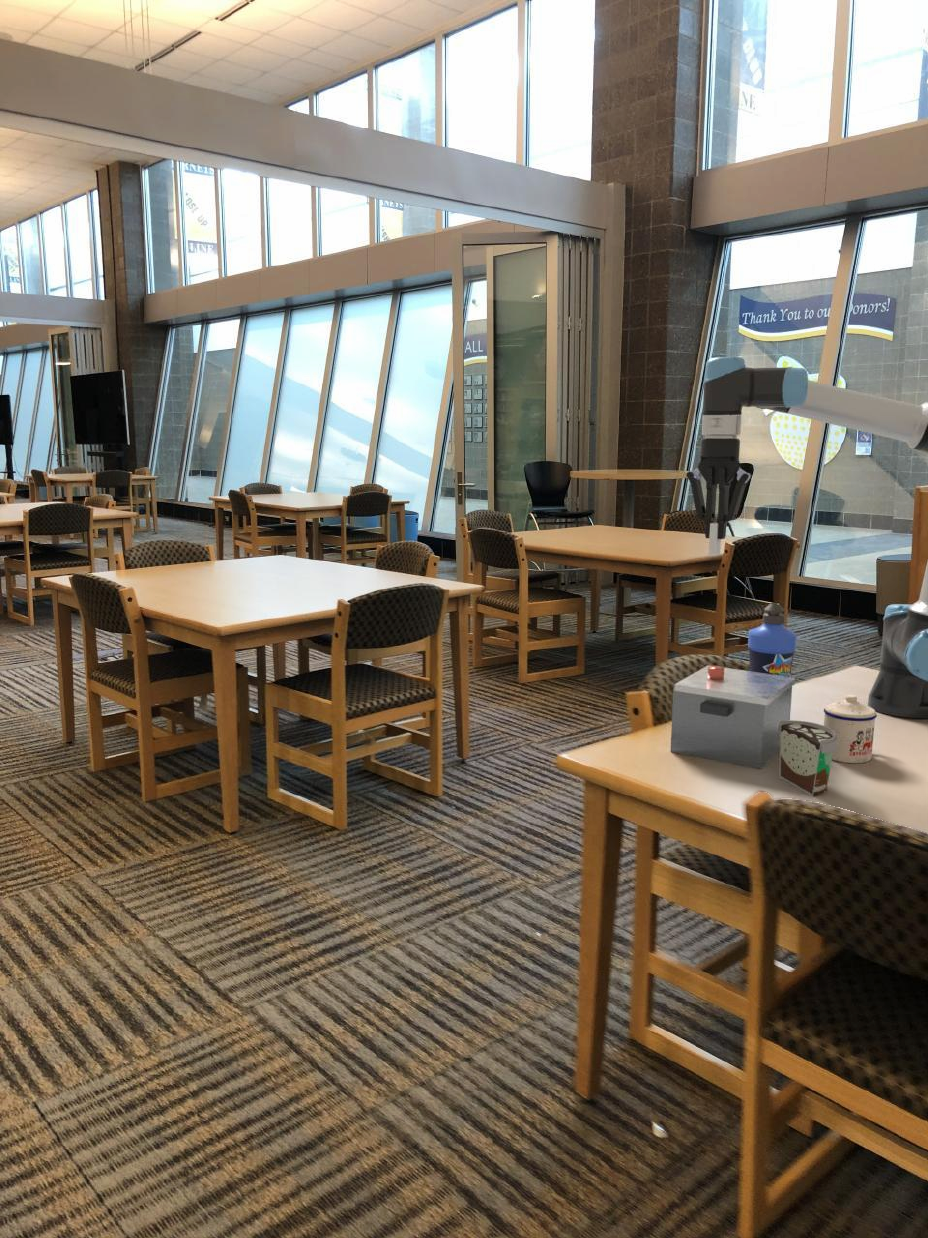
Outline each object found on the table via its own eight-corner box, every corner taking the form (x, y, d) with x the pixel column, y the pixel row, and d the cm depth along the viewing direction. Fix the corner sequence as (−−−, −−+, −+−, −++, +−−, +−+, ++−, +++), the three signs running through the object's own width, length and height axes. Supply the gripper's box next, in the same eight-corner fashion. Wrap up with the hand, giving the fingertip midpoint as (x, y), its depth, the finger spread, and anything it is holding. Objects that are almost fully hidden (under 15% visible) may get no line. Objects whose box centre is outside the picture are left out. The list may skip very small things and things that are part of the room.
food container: (850, 795, 160) (855, 738, 158) (818, 799, 159) (823, 741, 157) (804, 770, 172) (808, 716, 170) (774, 774, 170) (778, 719, 168)
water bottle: (799, 727, 197) (808, 607, 192) (758, 731, 194) (766, 609, 189) (774, 714, 205) (782, 599, 201) (734, 717, 203) (741, 600, 198)
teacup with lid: (855, 768, 173) (861, 705, 171) (810, 754, 180) (815, 694, 178) (890, 754, 181) (896, 694, 178) (845, 742, 188) (850, 684, 185)
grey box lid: (794, 683, 184) (796, 667, 183) (767, 705, 170) (768, 688, 169) (707, 671, 193) (708, 655, 193) (674, 690, 179) (675, 673, 178)
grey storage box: (790, 741, 188) (794, 681, 186) (757, 772, 171) (761, 707, 169) (706, 726, 197) (709, 669, 195) (666, 754, 180) (669, 692, 178)
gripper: (682, 437, 193) (677, 554, 198) (747, 437, 186) (739, 559, 191) (696, 436, 199) (690, 550, 204) (759, 437, 192) (751, 555, 197)
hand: (714, 554), depth 197 cm, fingers closed
